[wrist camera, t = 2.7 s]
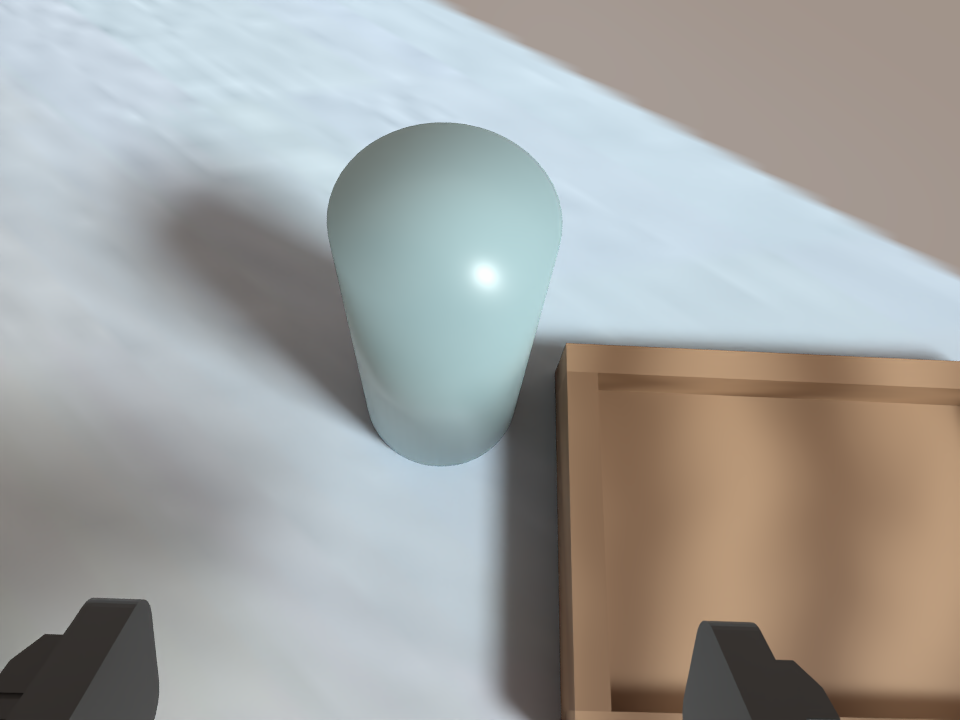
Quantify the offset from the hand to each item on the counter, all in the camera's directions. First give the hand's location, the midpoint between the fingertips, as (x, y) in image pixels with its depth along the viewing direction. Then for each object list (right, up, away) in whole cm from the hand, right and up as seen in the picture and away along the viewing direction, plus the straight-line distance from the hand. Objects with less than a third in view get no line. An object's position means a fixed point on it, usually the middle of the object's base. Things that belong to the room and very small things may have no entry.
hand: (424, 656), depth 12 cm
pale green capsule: (-1, +3, +16) cm, 16 cm away
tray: (+11, -2, +15) cm, 19 cm away
